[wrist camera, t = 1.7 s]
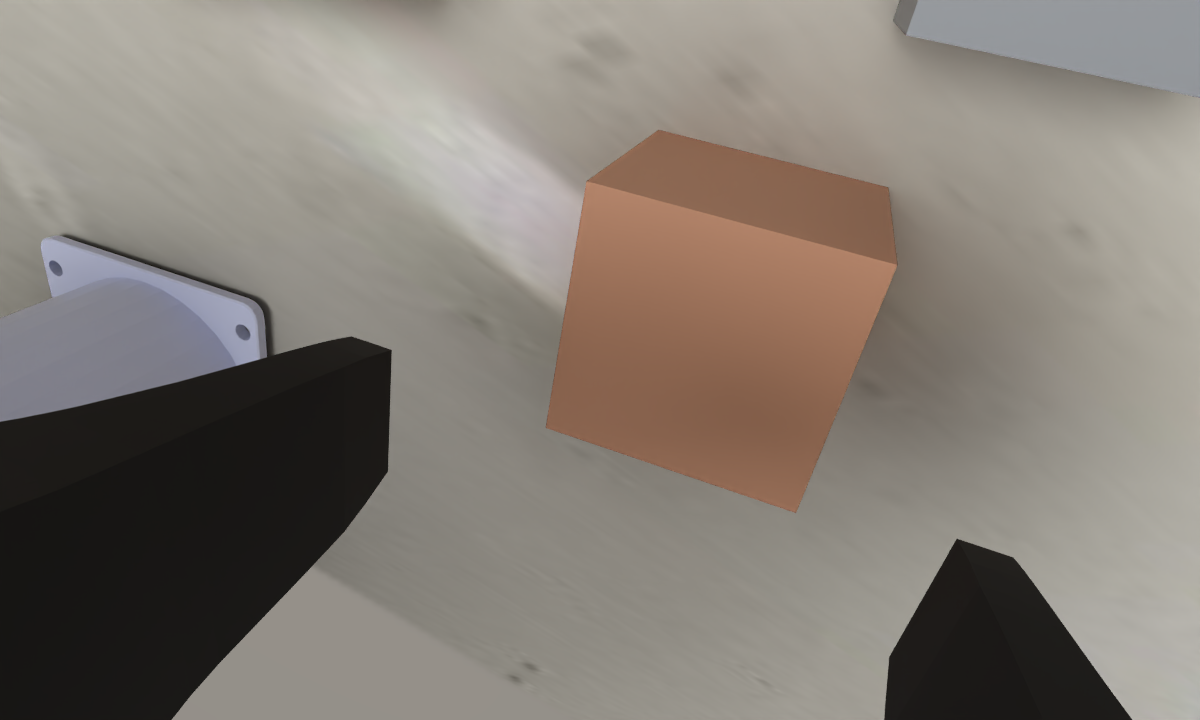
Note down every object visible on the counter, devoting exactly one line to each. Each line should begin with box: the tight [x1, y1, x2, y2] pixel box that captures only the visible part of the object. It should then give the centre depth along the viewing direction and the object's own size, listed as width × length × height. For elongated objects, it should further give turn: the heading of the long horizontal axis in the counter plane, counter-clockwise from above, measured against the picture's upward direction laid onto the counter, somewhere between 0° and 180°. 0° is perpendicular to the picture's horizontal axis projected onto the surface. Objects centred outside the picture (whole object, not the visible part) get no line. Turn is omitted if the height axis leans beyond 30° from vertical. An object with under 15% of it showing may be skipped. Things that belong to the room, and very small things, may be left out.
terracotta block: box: [546, 130, 897, 513], centre depth 15 cm, size 5×5×5 cm
